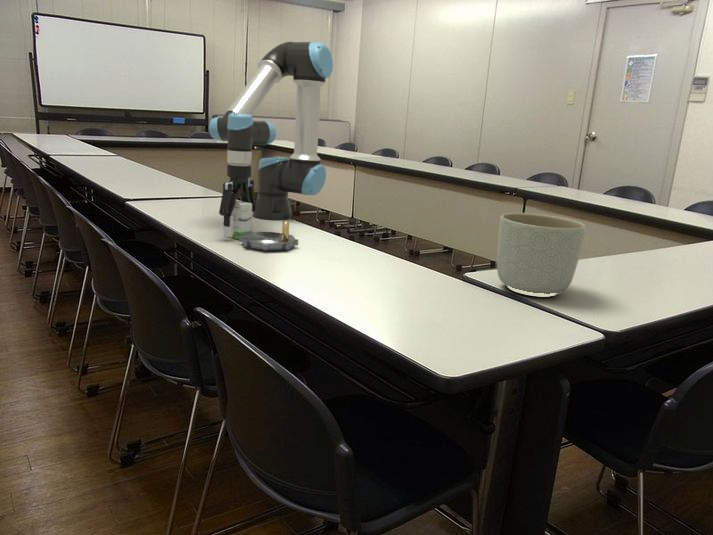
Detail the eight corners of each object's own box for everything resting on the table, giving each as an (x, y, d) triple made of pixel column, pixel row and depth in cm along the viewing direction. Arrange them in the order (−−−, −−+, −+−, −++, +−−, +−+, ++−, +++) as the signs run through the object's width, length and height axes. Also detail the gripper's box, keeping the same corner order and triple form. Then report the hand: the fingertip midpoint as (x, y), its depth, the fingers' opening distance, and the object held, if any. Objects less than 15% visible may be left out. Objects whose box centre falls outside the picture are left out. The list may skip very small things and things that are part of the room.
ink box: (252, 239, 186) (253, 203, 182) (240, 241, 182) (240, 204, 179) (235, 234, 191) (236, 199, 188) (223, 235, 187) (223, 199, 184)
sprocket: (300, 239, 187) (301, 215, 185) (295, 252, 169) (296, 225, 167) (244, 235, 186) (245, 211, 184) (234, 248, 168) (234, 221, 166)
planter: (573, 309, 138) (587, 232, 133) (485, 295, 144) (496, 220, 139) (573, 288, 157) (585, 219, 152) (496, 275, 163) (505, 209, 158)
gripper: (249, 161, 192) (247, 226, 197) (207, 165, 171) (206, 237, 177) (268, 163, 189) (266, 229, 195) (228, 167, 169) (227, 241, 174)
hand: (237, 233), depth 186 cm, fingers open, 10 cm apart
